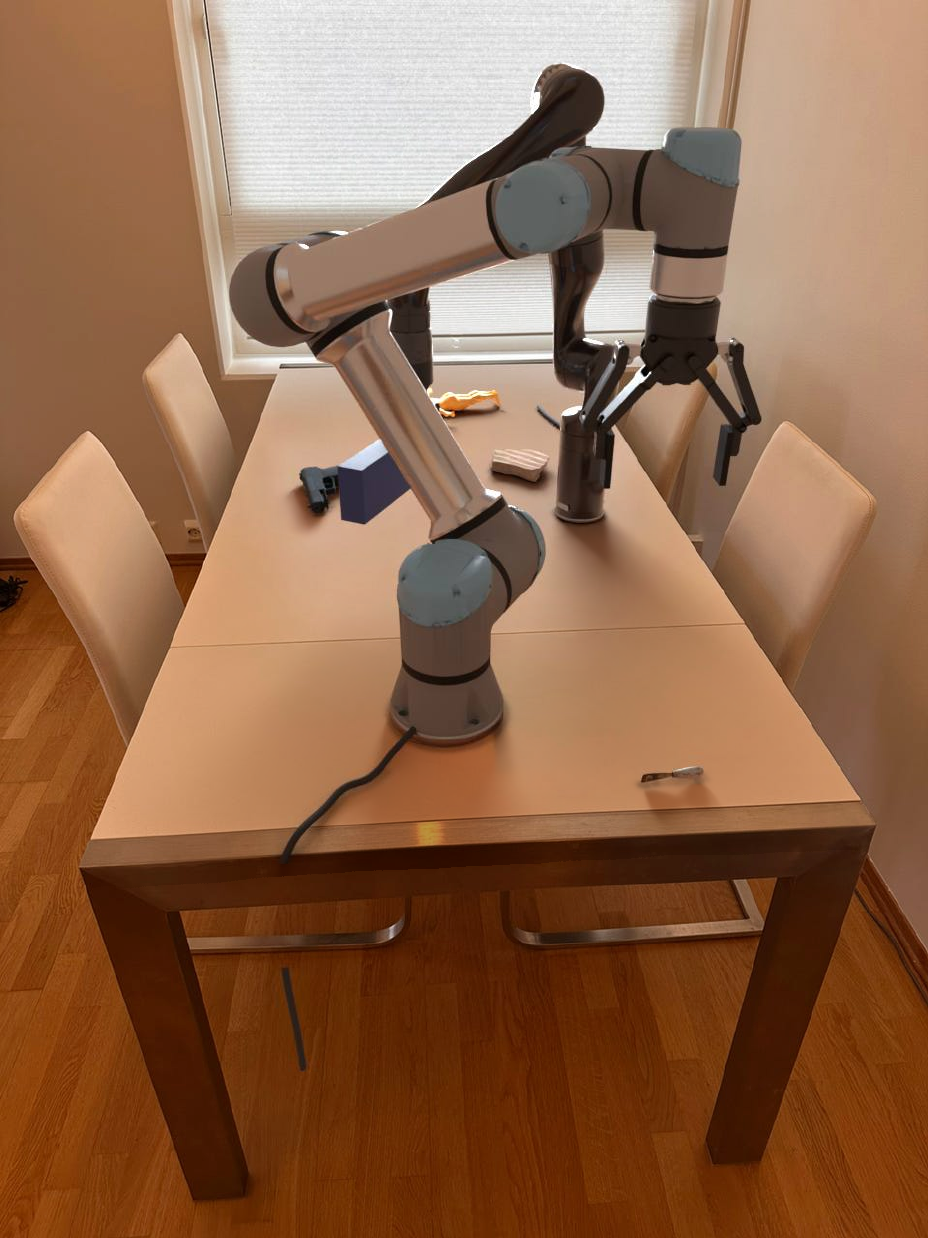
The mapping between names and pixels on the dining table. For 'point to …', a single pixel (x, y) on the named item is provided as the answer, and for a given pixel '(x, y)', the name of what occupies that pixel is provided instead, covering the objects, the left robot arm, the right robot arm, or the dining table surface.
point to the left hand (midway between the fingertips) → (662, 483)
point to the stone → (519, 462)
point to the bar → (369, 484)
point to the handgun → (319, 486)
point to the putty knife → (674, 774)
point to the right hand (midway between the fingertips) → (413, 451)
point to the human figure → (462, 400)
